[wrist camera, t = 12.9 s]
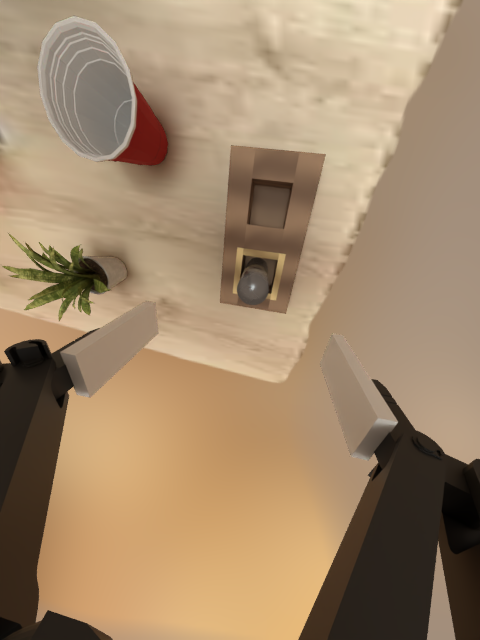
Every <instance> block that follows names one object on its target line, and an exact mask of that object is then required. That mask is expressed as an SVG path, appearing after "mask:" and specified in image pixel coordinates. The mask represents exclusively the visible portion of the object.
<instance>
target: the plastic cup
mask: <svg viewBox="0 0 480 640" xmlns="http://www.w3.org/2000/svg"><path fill="white" fill-rule="evenodd" d="M38 77H39V88H40V96H41V99H42V102H43V105H44V107H45V110H46V113H47V116H48V119H49V121H50V123H51V124H52V126H53V128H54V129H55V131H56V132H57V134H58V135H59V137H60V138H61V140H62V142H63V143H65V144H66V145H67V146H68V147H69V148H70V149H72V150H73V151H74V152H75V153H76V154H77V155H79V156H81V157H84V158H87V159H90V160H93V161H96V162H102V161H107V160H108V161H115V162H116V161H120V162H126V163H132V164H138V165H150V166H152V165H157V164H160V163H161V162H162V161H163V160H164V158H165V156H166V154H167V147H168V142H167V138H166V134H165V131H164V129H163V127H162V126H161V124H160V122H159V121H158V119H157V118H156V116H155V115H154V113H153V111H152V109H151V108H150V106H149V105H148V103H147V102H146V100H145V99H144V97H143V96H142V94H141V93H140V91H139V90H138V88H137V87H136V85H135V84H134V82H133V79H132V75H131V72H130V69H129V67H128V66H127V64H126V62H125V60H124V58H123V56H122V54H121V52H120V50H119V48H118V46H117V44H116V42H115V41H114V40H113V39H112V38H111V37H110V36H109V35H108V34H107V33H106V32H105V31H104V30H103V29H102V28H101V27H100V26H99V25H98V24H97V23H96V22H92V21H89V20H86V19H83V18H80V17H77V16H72V17H69V18H67V19H64V20H61V21H58V22H56V23H55V24H54V25H53V27H52V28H51V30H50V31H49V33H48V34H47V35H46V37H45V38H44V40H43V42H42V47H41V52H40V57H39V62H38Z"/></svg>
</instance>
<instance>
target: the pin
mask: <svg viewBox="0 0 480 640" xmlns="http://www.w3.org/2000/svg"><path fill="white" fill-rule="evenodd" d="M268 292H269V284H268V266H267V263H266V262H265V260H263V259H262V258H258V257H256V258H253V259H251V260H250V261H249V262H248V263H247V265H246V268H245V270H244V272H243V274H242V276H241V278H240V280H239V283H238V285H237V294H238V296H239V298H240V299H241V300H242V301H243V302H244V303H246V304H249V305H257V304H260V303H262V302H263V301H264V300H265V299H266V298H267V296H268Z"/></svg>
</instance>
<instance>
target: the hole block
mask: <svg viewBox="0 0 480 640" xmlns="http://www.w3.org/2000/svg"><path fill="white" fill-rule="evenodd" d="M325 155H326V154H316V153H306V152H295V151H285V150H274V149H264V148H253V147H243V146H232V145H231V154H230V168H229V182H228V196H227V210H226V224H225V238H224V252H223V266H222V280H221V294H220V303H226V304H232V305H238V306H244V307H249V308H255V309H261V310H267V311H273V312H279V313H285V314H286V311H287V307H288V303H289V299H290V295H291V291H292V287H293V283H294V279H295V275H296V271H297V267H298V263H299V259H300V255H301V251H302V247H303V243H304V239H305V235H306V231H307V227H308V223H309V219H310V215H311V211H312V207H313V203H314V199H315V195H316V191H317V187H318V183H319V179H320V175H321V171H322V167H323V163H324V159H325ZM256 257H258V258H262V259H263V260H265V262H266V263H267V266H268V284H269V292H268V296H267V298H266V299H265V300H264V301H263V302H262V303H260V304H257V305H249V304H246V303H244V302H243V301H242V300H241V299H240V298H239V296H238V294H237V285H238V283H239V280H240V278H241V276H242V274H243V272H244V270H245V268H246V265H247V263H248V262H249V261H250V260H251V259H253V258H256Z"/></svg>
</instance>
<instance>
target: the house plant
mask: <svg viewBox="0 0 480 640" xmlns="http://www.w3.org/2000/svg"><path fill="white" fill-rule="evenodd" d="M8 234H9V233H8ZM9 235H10V234H9ZM10 237H11V238H12V239H13V241H14V242H15V243H16V244H17V245H18V246H19V247H20V248H21V249H22V250H23V251H24V252H25V253H26V254H27V256H28V257H29V258H30V259H31V260H32V261H33V262H34V263H35V264H36V265H37V266H38V267H39V268H41V269H42V270H43V271H41V270H36V269H31V268H30V269H18V268H13V267H9V266H3V267H4V268H6V269H7V270H9V271H11V272H14V273H16V274H19V275H13V276H11V277H15V278H21V279H28V280H35V281H40V282H48V283H59V284H56V285H53V286H51V287H48V288H46V289H45V290H43V291H42V292H40V293H38V294H36V295H34V296H32V297H31V298H30V299H29V300H32V299H35V298H36V299H35V300H34V301H33V302H32V303H30V304H28V305H27V306H26V308H25V310H28V309H32V308H36V307H38V306H41V305H44V304H46V303H49V302H51V301H54V300H57V299H60V298H63V297H64V298H66V299H65V301H63V299H62V301H63V303H62V305H61V307H60V310H59V315H58V316H59V322H60V319H61V318H62V315H63V313H64V312H65V311H66V310H67V308H68V306H69V304H70V303H71V301H72V300H73V299H74V302H73V307H74V308H75V306H74V304H75V299H76V297H77V296H78V295H80V298H79V301H78V309H79V311H80V312H81V306H82V309H83V311H84V312H85V313H86V314H88V315H90V313H91V310H90V304H89V303H93V302H91V301H89V299H88V298H89V293H90V292H91V293H93V294H103V293H105V292H107V291H109V290H110V289H111V288H112V287H114V286H115V285H117V284H118V283H120V282H121V281H123V280H124V279H126V277H127V269H126V267H125V265H124V263H123V262H122V261H121V260H120V259H118V258H116V257H98V256H82V253H83V249H81V250H80V251H79V247H80V245H79V246H76V247H74V248H73V249H72V250H71V259H72V263H70V262H69V261H67V260H66V259H65V258H64V257H63V256H61V255H60V254H59V253H58V252H57V251H55V250H54V248H51V246H50V245H49V251H48V250H47V249H45V248H44V246H43V245H42V244H41V243H40V242H39V244H40V246H41V248H42V249H43V250H44V251H45V252H46V253H47V254H48V255H49V256H50V258H48V257H47V256H46V255H45V254H44V253H43V254H42V256H41V255H39V254H38V253H36V252H35V251H33V250H32V249H31V248H30V246H29V245H28V244H27V243H25V244H26V245H27V247H28V249H29V250H28V249H27V248H25V247H24V246H23V245H21V244H20V243H19V242H18V241H17V240H16V239H15V238H14V237H13V236H11V235H10ZM81 245H82V244H81ZM34 259H35V260H37V261H38V262H40V263H42V264H43V265H45V266H47V267H49V268H52V269H55V270H56V271H59V272H62V273H65V274H62V273H53V272H51V271H49V270H47V269H45V268H44V267H42V266H41V265H40V264H38V263H37V262H36V261H35V260H34ZM56 261H57V262H58V263H60V264H62V265H64V266H62V265H60V264H57V263H56ZM1 266H2V265H1ZM66 269H68V270H66ZM69 270H70V271H69ZM83 290H84V291H83ZM82 291H83V292H82ZM81 293H82V294H81Z"/></svg>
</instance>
